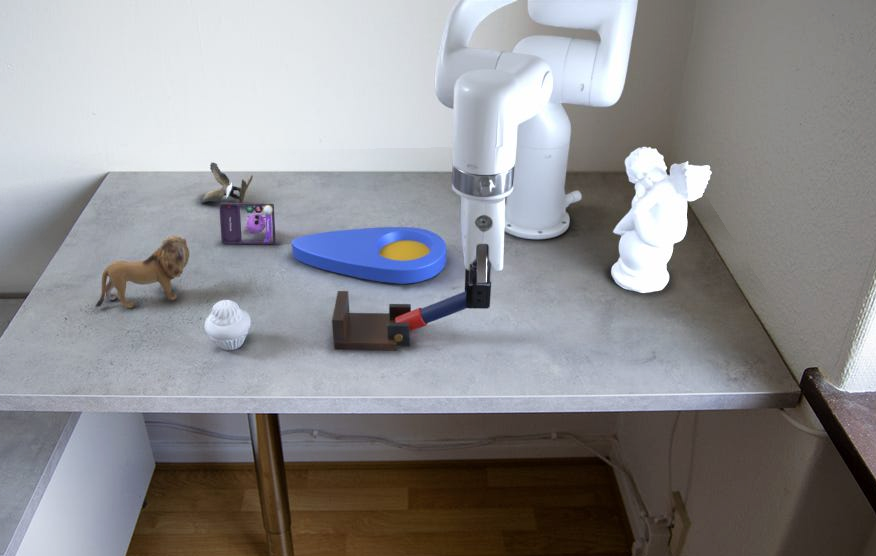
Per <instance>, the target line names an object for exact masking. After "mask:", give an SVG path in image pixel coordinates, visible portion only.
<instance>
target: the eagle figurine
mask: <svg viewBox="0 0 876 556" xmlns="http://www.w3.org/2000/svg"><path fill="white" fill-rule="evenodd" d="M209 166H210V167H209V169H210V171H211V173H212V175H213V178H214V180H215V181H216V182H217V183H218V184H219V185H220V186H222V187H221V188H219V189H212V190H209V191H207V192H206V194H205V195H203V196H201V197H200V199H199V202H200V203H202V204H204V203H207V202H214V203H216V202H219V201H221V200H222V199H223V198H224V197H225V199H226V200H227V199H228V197H230V198H233V199H235V200H239V201H238V203H244V199H245V196H246V192H247V189H248V188H249V186H250V184H251V183H252V181H253V177H254V175H252V174H251V176H250V177H249V179H248V180H247V182H246V180H244V179H243V178H242V179H241V184H240V186H241V187H238V186H235V185H234V184H233V182H231V183H230V178H229V177H228V175H226V173H224V172H223V171H221V169H220V168H219V166H218V163H216V162H210V165H209ZM235 191H237V192H238V193H239V195H237V194H236V193H234V192H235Z"/></svg>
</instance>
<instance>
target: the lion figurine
mask: <svg viewBox="0 0 876 556" xmlns="http://www.w3.org/2000/svg"><path fill="white" fill-rule="evenodd" d="M189 258H190V249H189V247H188V244H187V239H186V238H182V237H180V236H177V235H170V236H168V237H166V238H164V239H163V240H162V244H161V245H160V246H159V247H158V248H157V249H156V250H155V251H154V252H152V254H151V255H150V256H148V258H146V259H144V260H139V261H125V260H117V261H114V262H112V263H111V264H108V265H107V266H106V267H105V268H104V269H103V272H102V276H101V294H100V297H99V299H98V301H97V303H95V308H98V307H101V306H102V305H103V303H104V301H105V298H106V300H108V301H113V300H115V299H116V298H117V299H118V300H119V302H121V303H122V305H123V307H125V308H127V309H132V308H134V307H135V303H134V301H129V300H127V298H126V291H127V283H128V282H130V283H133V284H136V285H141V286H142V285H143V286H145V285H152V284H155V283H159V289H160V290H161V291H162V292H163V293H164V295H165V297H166V298H167V299H168V300H169V301H175V300H176V299H177V295H176V293H173V292H172V281H173V280H174V279H176V278H179V277H180V276H181V275H182V274H183V271H184V269H185V267H186V266H187V264H188V263H189ZM108 278H109V279H108ZM107 279H108V282H107ZM114 289H115V290H116V291H117V295H116V294H114V293H112V291H113V290H114Z"/></svg>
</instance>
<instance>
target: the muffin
mask: <svg viewBox="0 0 876 556" xmlns="http://www.w3.org/2000/svg"><path fill="white" fill-rule="evenodd" d="M251 319H252V318H251V316H250V314H249V313H248V312H247V311H246V310H244V309H241V308H240V306H239V304H238V303H237V302H235V301H234V300H231V299H222V300H219V301H217V302H216V303H214V305H213V306H212V308H211V313H210V314H209V315H208V316H207V318H206V319H205V322H204V330H205V333H207V335H208V337H209V338H210V339H211V340H212V341H213V342H214V343H215V344H216V345H217V346H218V347H219V348H221V349H222V350H225V351H234V350H237V349H239V348H240V347H242V346H243V344H244V342H245V341H246V338H247V336H248V334H249V332H250V327H251V324H252V320H251Z"/></svg>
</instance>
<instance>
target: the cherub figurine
mask: <svg viewBox="0 0 876 556" xmlns="http://www.w3.org/2000/svg"><path fill="white" fill-rule="evenodd" d="M624 166H625V172H626V175H627V177H628V181H629V182H630V183H632V184H634V190H635V195H634V197H633V198H632V200H631V208H630V209H629V211H628V212H627V213H626V214H625V215H624V216H623V217H622V218H621V219H620V221H619V222H618V223H617V224H615V227H614V229H613V230H612V233H614V234H615V235H618V236H621V237H620V240H619V242H618V252H619V257H618V260H617V261H616V262H615V263H614V264H613V265H612V266H611V269H610V274H611V277H612V279H613V280H614V282H615V283H616V284H617V285H618V286H619V287H621V288H623V289H625V290H629V291H634V292H638V293H641V294H642V293H643V294H646V293H653V292H658V291H662V290H663V289H665V287H666V286H667V284H668V283H669V281H670V274H669V271H668V270H667V264H668V262H669V261H670V260H671V257H672V255H673V250H674V245H675V244H676V243H679V242H682V240H683V239H684V237H685V236H686V233H687V228H688V218H687V217H688V216H687V213H688V202H693V201H696V200H698V199H699V198H702V197H703V193H705V189H707V185H708V184H709V182H708V181H710V179H711V175H712V173H713V172H712V171H711V170H710V169H711V167H710V165H708V164H707V165H706V164H705V165H694V164H689V161H686V162H681V163H677V162H676V163H675V162H674V163H673V164H671V165H670V168H669V174H668V173H667V172H668V171H667V169H668V167H667V166H666V163H665V161H664V155H663V154H661V153H659V152H658V150H657V148H651V146H649V147H647V146H642V147H637V148H636V149H634V150H633V151H630V153H629V155H628V156H626V158H625V160H624Z"/></svg>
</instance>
